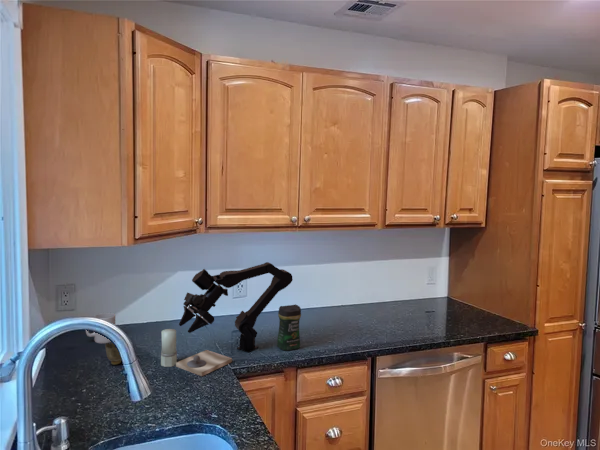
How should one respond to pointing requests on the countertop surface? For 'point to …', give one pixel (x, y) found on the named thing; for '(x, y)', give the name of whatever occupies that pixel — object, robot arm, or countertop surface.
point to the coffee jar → (289, 327)
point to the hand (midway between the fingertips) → (184, 328)
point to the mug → (99, 338)
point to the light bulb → (168, 348)
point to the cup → (112, 354)
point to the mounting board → (204, 362)
